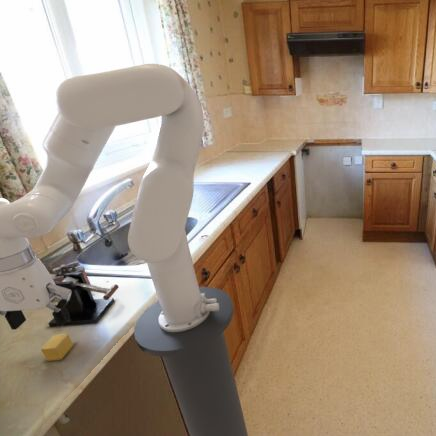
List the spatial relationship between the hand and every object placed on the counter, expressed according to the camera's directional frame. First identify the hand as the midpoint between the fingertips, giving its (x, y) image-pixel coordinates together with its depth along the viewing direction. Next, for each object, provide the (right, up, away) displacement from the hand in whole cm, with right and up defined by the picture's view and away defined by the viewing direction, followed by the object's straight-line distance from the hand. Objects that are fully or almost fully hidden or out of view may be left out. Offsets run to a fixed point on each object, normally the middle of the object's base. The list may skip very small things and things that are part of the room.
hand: (42, 323), depth 72 cm
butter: (+1, -8, +4) cm, 9 cm away
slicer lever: (0, +4, +14) cm, 14 cm away
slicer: (-3, -3, +16) cm, 17 cm away
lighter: (-12, +1, +25) cm, 28 cm away
